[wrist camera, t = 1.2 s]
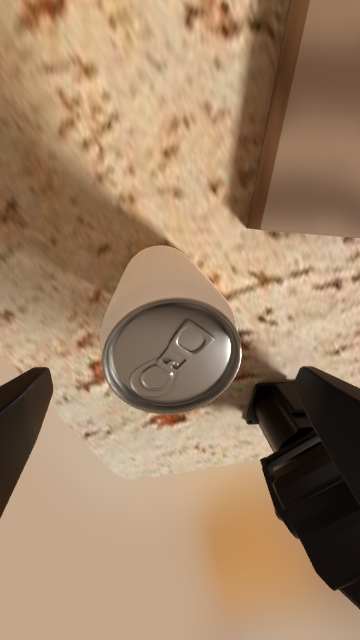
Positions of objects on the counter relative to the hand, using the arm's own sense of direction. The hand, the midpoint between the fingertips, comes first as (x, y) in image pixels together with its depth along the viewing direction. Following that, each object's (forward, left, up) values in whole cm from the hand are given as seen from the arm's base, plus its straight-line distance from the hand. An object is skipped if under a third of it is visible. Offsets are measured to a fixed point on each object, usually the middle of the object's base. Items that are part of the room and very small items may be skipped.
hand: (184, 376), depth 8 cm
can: (0, 0, -13) cm, 13 cm away
